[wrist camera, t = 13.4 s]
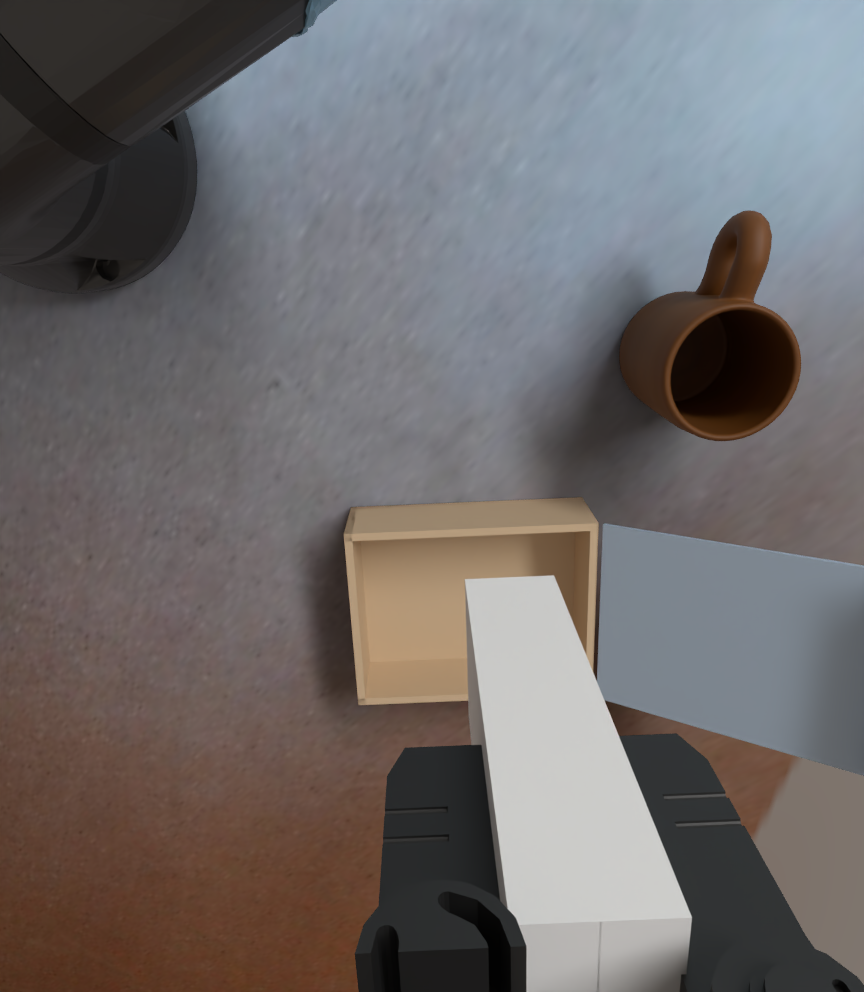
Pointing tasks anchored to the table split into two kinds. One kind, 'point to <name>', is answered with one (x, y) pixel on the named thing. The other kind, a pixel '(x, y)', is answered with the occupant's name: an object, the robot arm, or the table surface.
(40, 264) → the robot arm
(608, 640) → the lid
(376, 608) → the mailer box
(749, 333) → the mug
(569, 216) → the table surface
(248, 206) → the table surface
